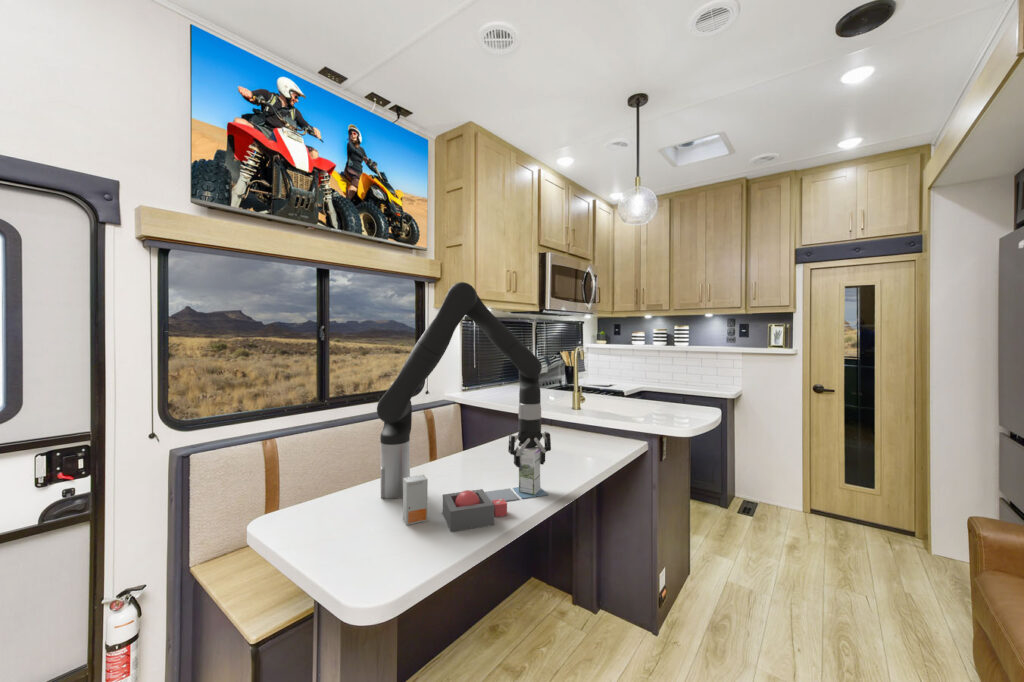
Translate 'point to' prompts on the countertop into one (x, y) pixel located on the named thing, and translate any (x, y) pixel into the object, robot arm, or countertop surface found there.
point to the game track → (511, 494)
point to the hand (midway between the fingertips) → (529, 465)
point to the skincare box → (415, 499)
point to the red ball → (467, 499)
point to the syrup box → (529, 470)
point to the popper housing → (472, 512)
